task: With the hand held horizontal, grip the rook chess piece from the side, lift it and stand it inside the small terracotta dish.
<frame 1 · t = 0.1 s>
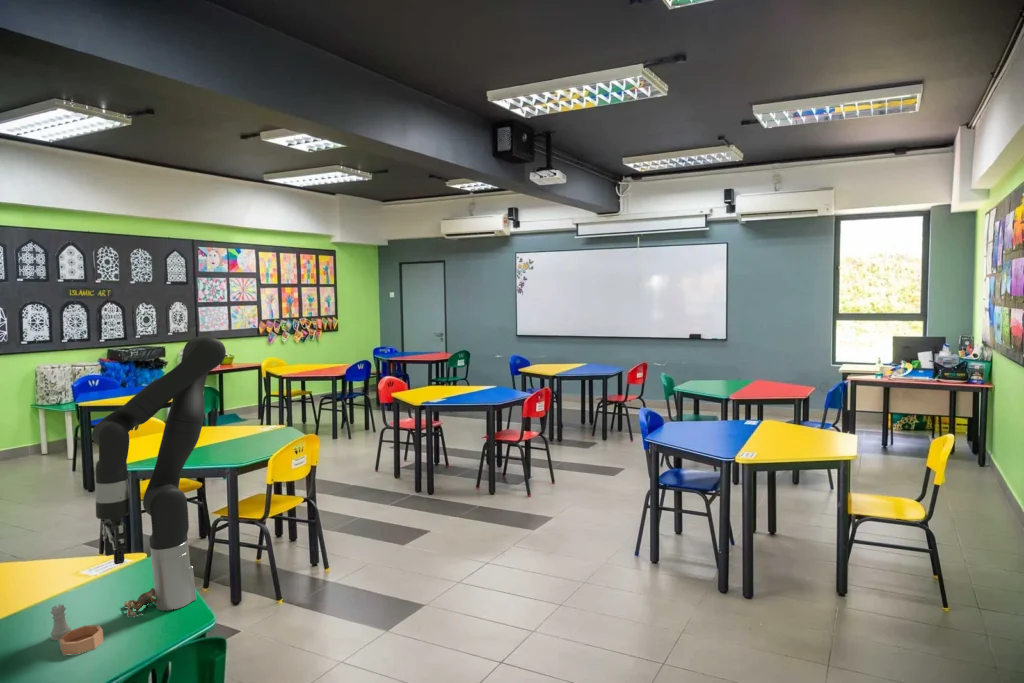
hand: (114, 559, 174), 17 cm above the table, tool pointing down, fingers open, 8 cm apart
rook chess piece: (61, 637, 170), on the table
frog figurine: (142, 608, 184), on the table
dish: (82, 645, 165), on the table
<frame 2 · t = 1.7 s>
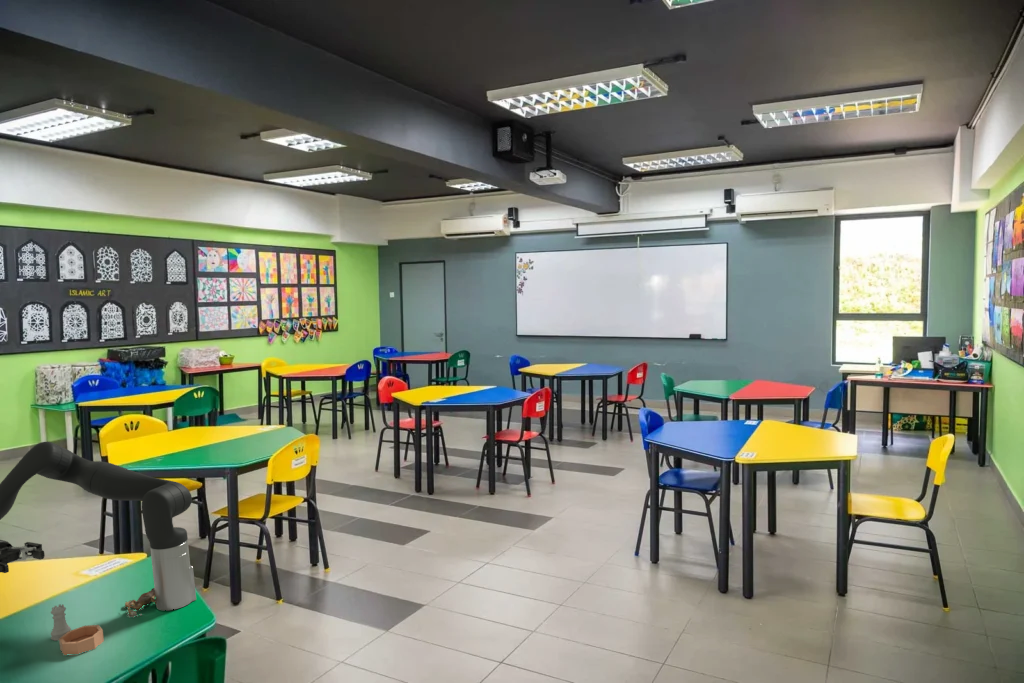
hand: (25, 561, 172), 18 cm above the table, tool horizontal, fingers open, 8 cm apart
nothing on the table moved.
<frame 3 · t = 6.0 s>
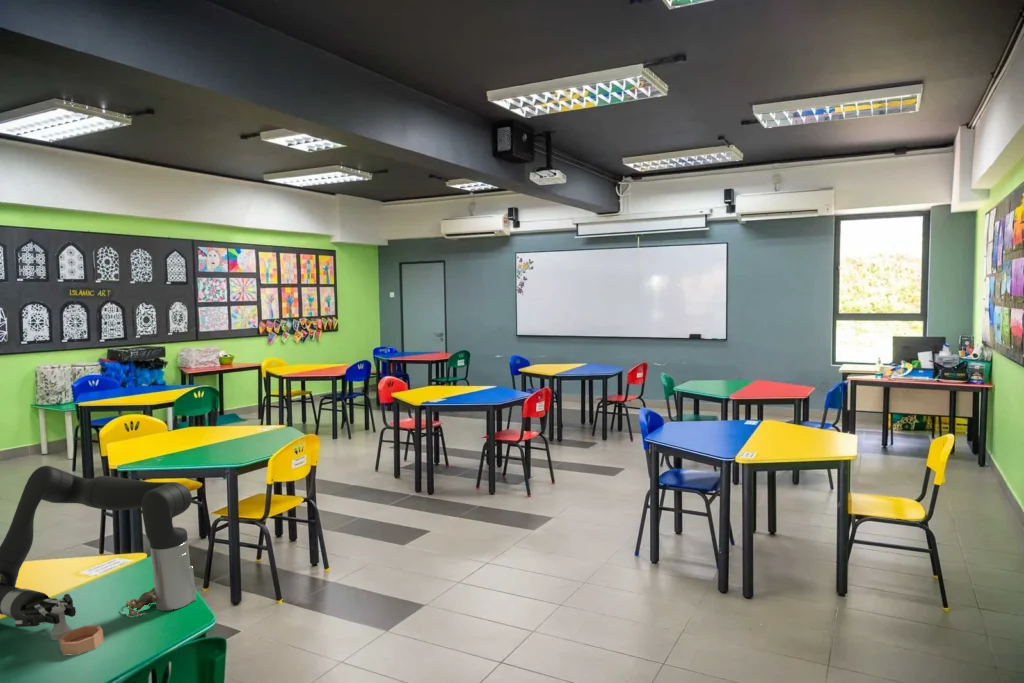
hand: (65, 615, 168), 6 cm above the table, tool horizontal, fingers closed on rook chess piece, 3 cm apart
rook chess piece: (61, 637, 170), on the table, touching gripper
everything else where it was.
when the fingers open (8 cm above the table, at t = 10.4 s): rook chess piece drops 1 cm, resting on dish.
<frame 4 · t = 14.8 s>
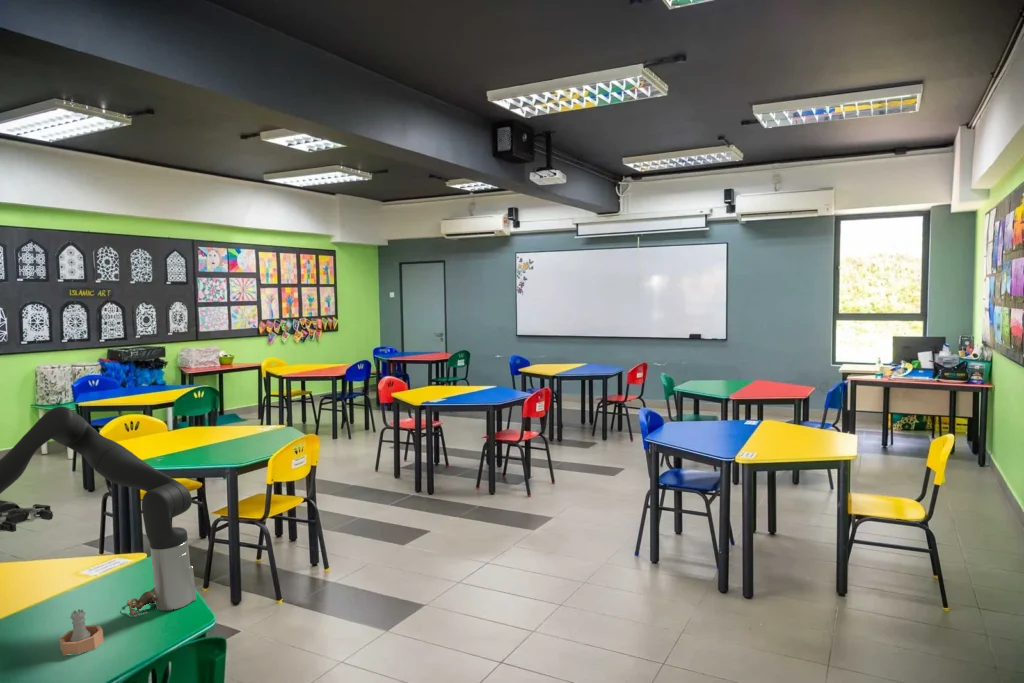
hand: (33, 521, 168), 30 cm above the table, tool horizontal, fingers open, 8 cm apart
rook chess piece: (81, 643, 165), point 1 cm above the table, touching dish
everything else where it was.
at the end: rook chess piece 0.2 cm from the dish (horizontally); rook chess piece tilted 0°; rook chess piece point 0.6 cm above the table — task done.
